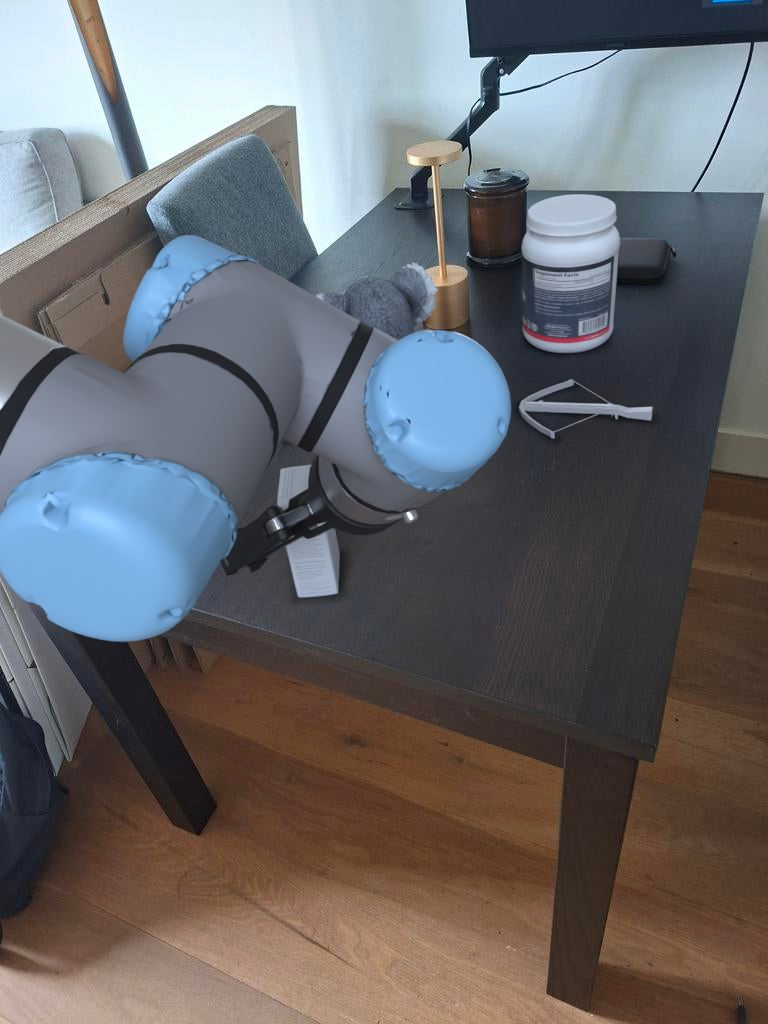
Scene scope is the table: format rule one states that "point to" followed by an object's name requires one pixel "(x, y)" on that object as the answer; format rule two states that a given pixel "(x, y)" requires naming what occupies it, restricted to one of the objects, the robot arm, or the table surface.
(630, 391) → the table surface
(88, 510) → the robot arm
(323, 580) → the cosmetic box
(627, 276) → the carrying case
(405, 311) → the koala plush
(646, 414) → the crossbow
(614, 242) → the supplement tub
